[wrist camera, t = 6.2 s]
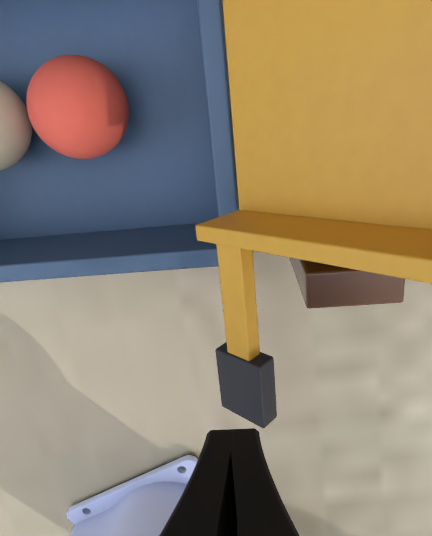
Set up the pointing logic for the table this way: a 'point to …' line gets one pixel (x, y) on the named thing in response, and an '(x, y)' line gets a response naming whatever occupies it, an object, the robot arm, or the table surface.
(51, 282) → the table surface
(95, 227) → the bin
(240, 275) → the yellow tray
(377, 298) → the dish stand
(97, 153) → the ball coral
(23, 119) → the ball cream
